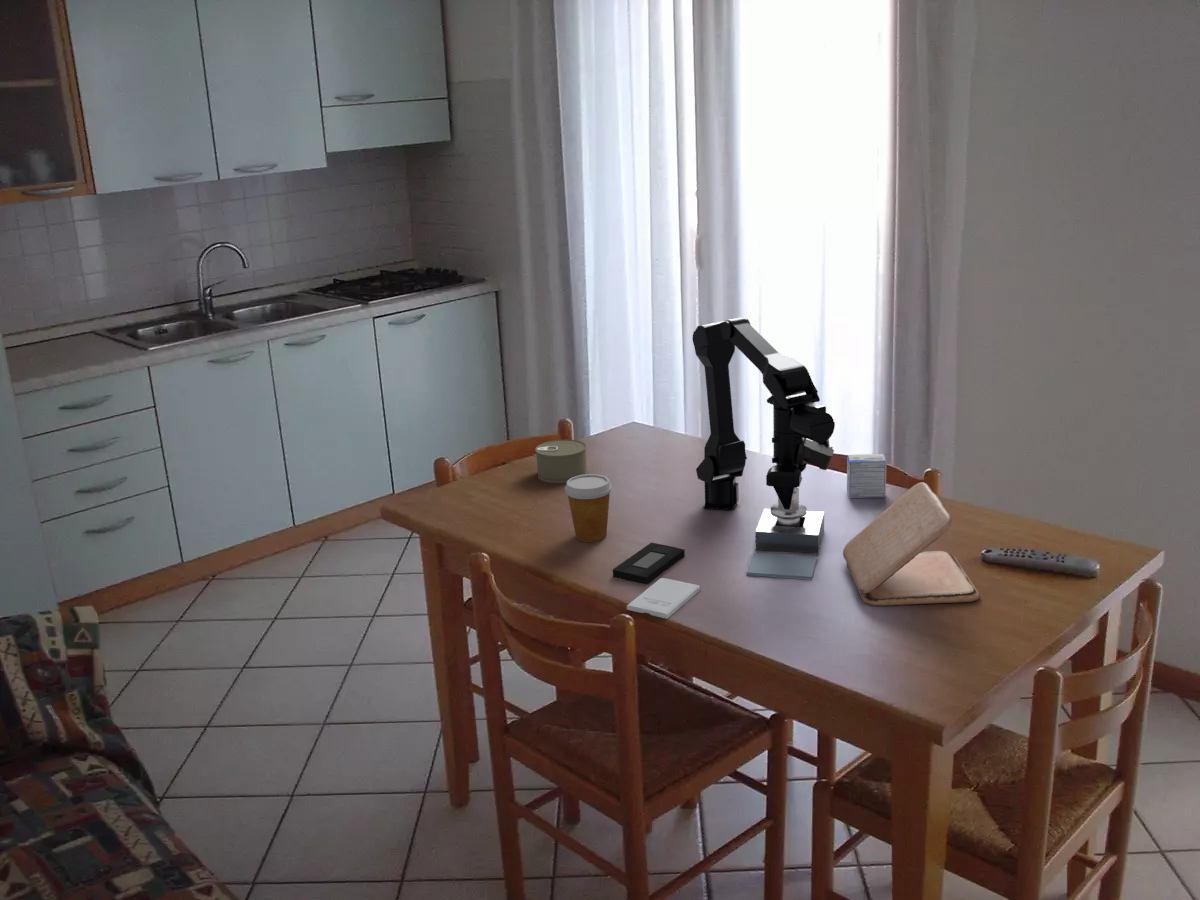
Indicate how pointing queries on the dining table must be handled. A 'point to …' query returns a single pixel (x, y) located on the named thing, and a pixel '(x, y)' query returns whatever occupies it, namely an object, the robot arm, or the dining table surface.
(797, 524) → the silver door knob
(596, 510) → the disposable coffee cup
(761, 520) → the frame
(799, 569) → the mat
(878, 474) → the medicine box
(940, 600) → the case
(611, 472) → the dining table surface
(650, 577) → the vhs tape
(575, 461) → the can
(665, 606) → the external hard drive
